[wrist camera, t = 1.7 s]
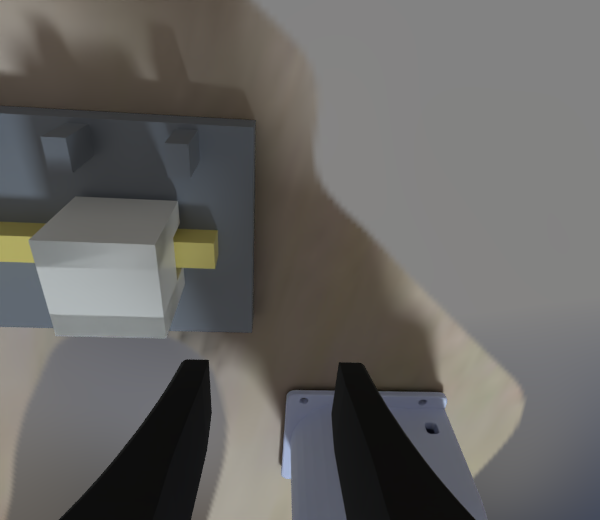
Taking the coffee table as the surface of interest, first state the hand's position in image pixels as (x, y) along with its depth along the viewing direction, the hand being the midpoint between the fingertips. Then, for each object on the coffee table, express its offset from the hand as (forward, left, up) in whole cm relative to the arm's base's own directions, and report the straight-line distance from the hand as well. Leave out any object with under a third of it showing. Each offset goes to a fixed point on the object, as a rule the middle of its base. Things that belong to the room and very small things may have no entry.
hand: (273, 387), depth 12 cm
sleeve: (+6, 0, -8) cm, 10 cm away
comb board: (+10, 0, -9) cm, 13 cm away
